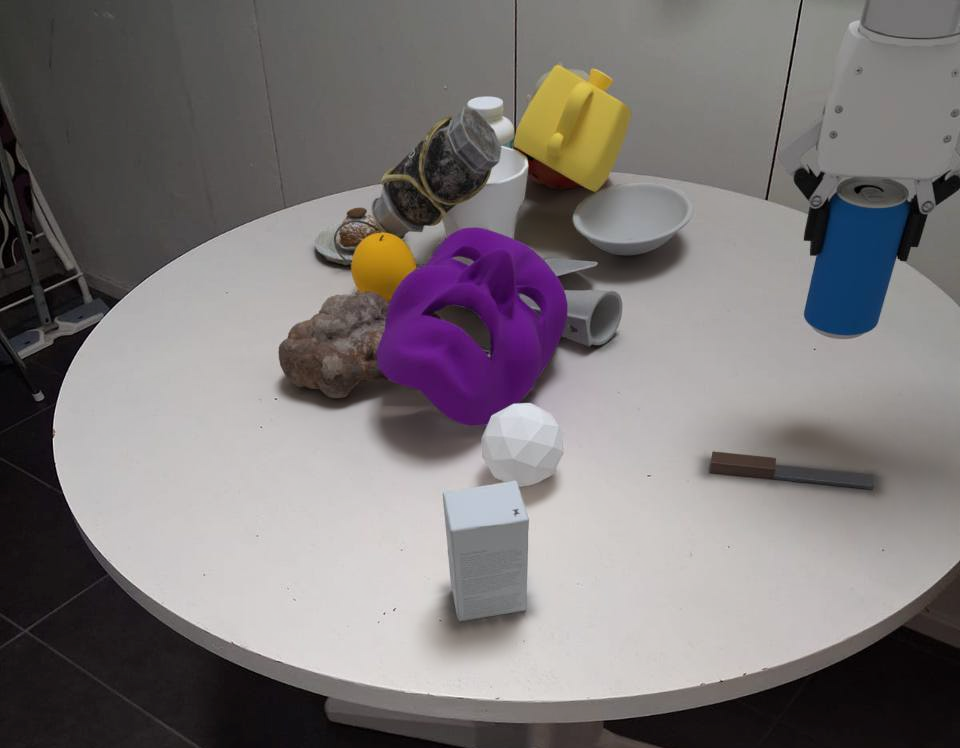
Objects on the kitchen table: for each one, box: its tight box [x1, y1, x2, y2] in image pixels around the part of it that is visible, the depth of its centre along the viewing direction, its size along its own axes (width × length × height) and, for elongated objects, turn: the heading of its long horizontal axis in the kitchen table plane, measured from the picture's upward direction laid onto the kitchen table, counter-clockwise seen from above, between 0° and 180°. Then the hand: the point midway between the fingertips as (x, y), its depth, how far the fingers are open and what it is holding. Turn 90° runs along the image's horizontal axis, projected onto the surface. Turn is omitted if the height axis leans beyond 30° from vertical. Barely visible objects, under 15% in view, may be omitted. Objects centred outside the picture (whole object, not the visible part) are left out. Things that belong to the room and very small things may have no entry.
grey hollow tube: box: [518, 289, 623, 347], centre depth 111 cm, size 6×6×19 cm
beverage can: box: [803, 177, 910, 340], centre depth 82 cm, size 6×6×12 cm
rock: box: [277, 291, 442, 399], centre depth 104 cm, size 18×12×10 cm, turn 108°
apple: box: [350, 233, 417, 303], centre depth 115 cm, size 8×8×8 cm
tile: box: [543, 258, 598, 277], centre depth 114 cm, size 20×11×1 cm, turn 124°
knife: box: [709, 450, 875, 490], centre depth 90 cm, size 15×2×1 cm, turn 76°
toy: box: [514, 61, 590, 190], centre depth 132 cm, size 15×15×15 cm
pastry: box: [314, 207, 405, 266], centre depth 125 cm, size 12×12×5 cm
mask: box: [377, 228, 568, 427], centre depth 94 cm, size 17×15×25 cm
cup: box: [441, 146, 528, 266], centre depth 119 cm, size 12×12×11 cm
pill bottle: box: [466, 96, 515, 150], centre depth 127 cm, size 8×7×14 cm
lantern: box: [334, 106, 502, 265], centre depth 114 cm, size 9×8×25 cm
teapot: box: [514, 64, 632, 193], centre depth 119 cm, size 20×12×12 cm
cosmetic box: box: [442, 481, 530, 622], centre depth 76 cm, size 6×4×12 cm
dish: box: [572, 181, 694, 256], centre depth 120 cm, size 18×14×5 cm
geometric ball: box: [481, 402, 565, 488], centre depth 89 cm, size 8×8×8 cm
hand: (857, 249), depth 81 cm, fingers closed on beverage can, 6 cm apart
